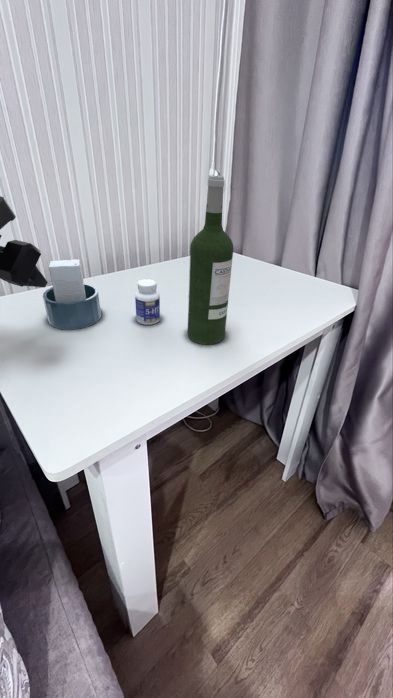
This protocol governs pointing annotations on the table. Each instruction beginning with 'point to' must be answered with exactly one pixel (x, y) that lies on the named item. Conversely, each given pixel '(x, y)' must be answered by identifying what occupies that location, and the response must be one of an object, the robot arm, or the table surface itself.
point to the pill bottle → (147, 302)
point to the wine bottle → (210, 272)
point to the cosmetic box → (67, 280)
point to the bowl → (73, 310)
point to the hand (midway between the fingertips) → (27, 279)
